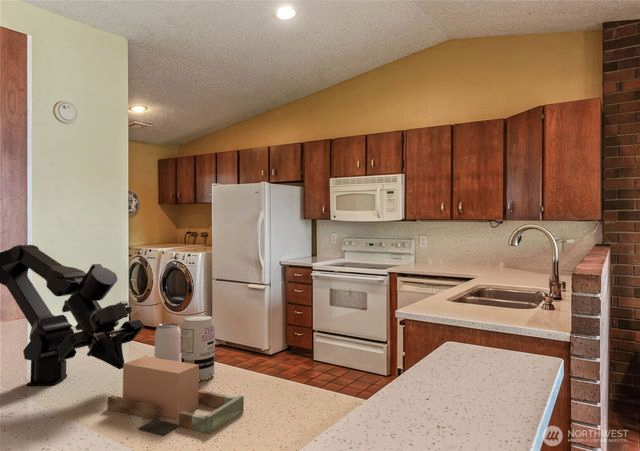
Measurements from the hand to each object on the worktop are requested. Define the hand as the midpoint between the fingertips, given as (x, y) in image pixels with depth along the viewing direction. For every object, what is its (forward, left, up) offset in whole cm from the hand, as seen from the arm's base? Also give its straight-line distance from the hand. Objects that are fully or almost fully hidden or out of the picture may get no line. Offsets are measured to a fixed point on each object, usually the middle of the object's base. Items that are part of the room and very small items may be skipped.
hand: (122, 367), depth 92 cm
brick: (+10, -6, -7) cm, 13 cm away
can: (+5, +19, -7) cm, 20 cm away
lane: (+13, -8, -7) cm, 17 cm away
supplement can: (+14, +13, -7) cm, 20 cm away
